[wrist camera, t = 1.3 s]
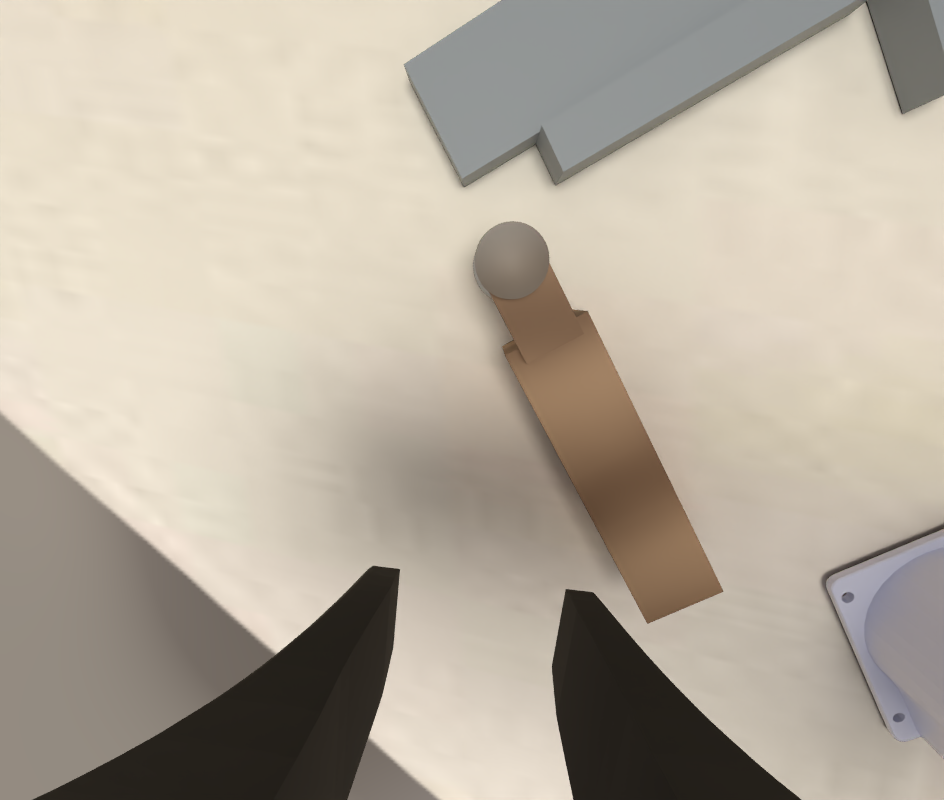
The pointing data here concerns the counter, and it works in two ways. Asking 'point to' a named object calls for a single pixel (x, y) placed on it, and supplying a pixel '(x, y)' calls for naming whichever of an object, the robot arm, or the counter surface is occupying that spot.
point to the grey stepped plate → (630, 69)
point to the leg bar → (593, 425)
